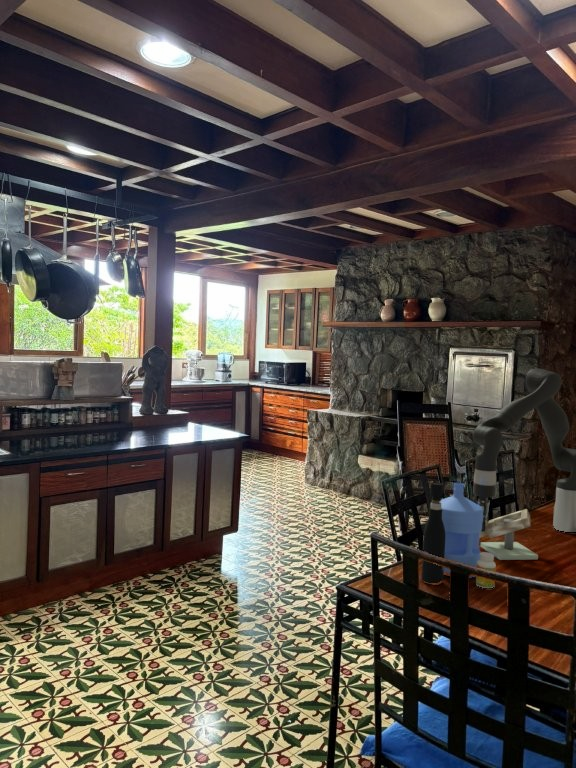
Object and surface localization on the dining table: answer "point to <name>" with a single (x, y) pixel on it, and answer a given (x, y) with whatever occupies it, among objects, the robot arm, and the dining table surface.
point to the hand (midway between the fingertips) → (482, 529)
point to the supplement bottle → (487, 564)
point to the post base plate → (509, 548)
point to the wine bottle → (434, 536)
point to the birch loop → (506, 524)
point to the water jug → (461, 527)
